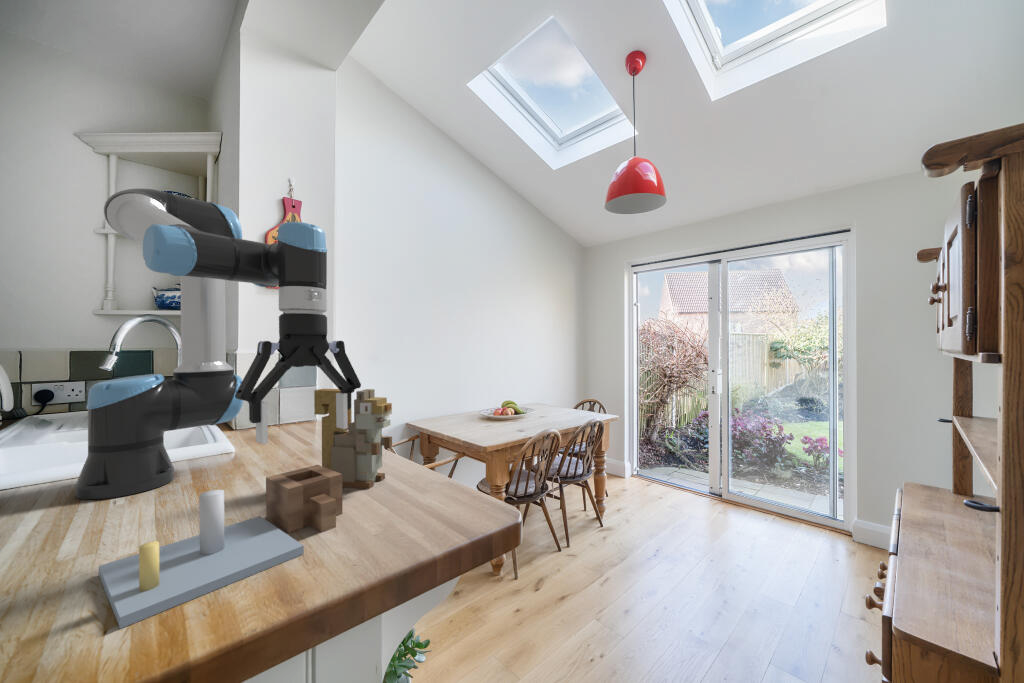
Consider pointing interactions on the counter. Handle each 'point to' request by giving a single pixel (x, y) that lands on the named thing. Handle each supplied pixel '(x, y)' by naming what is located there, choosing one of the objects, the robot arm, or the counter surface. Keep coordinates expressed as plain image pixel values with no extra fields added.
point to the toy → (354, 437)
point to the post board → (194, 563)
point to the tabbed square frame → (304, 498)
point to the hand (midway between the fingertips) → (304, 434)
